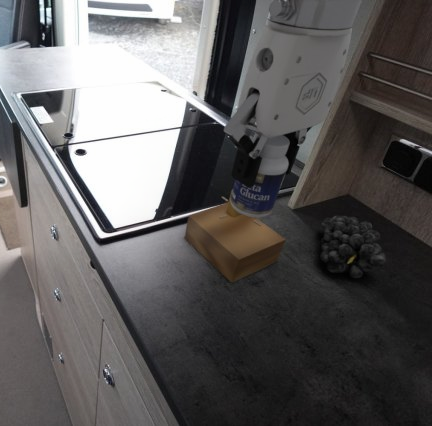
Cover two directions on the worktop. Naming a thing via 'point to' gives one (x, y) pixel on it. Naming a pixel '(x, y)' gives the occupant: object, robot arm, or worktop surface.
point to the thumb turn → (232, 209)
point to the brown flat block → (233, 241)
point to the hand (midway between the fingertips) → (260, 174)
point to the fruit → (350, 246)
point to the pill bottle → (263, 180)
